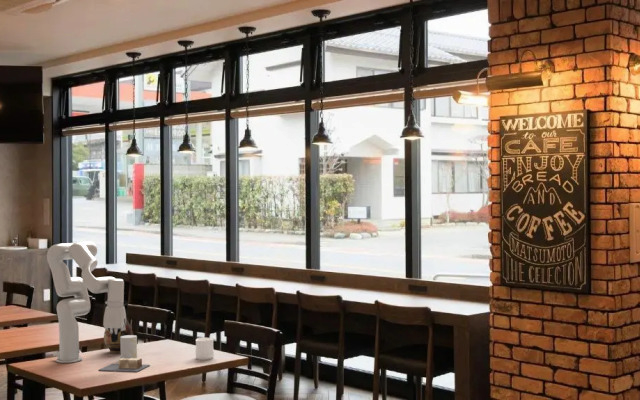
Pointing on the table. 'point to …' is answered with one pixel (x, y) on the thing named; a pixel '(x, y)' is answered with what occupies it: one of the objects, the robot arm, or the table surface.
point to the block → (130, 363)
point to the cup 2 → (204, 348)
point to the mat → (116, 368)
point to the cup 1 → (128, 346)
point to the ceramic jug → (116, 346)
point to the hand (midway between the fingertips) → (114, 341)
